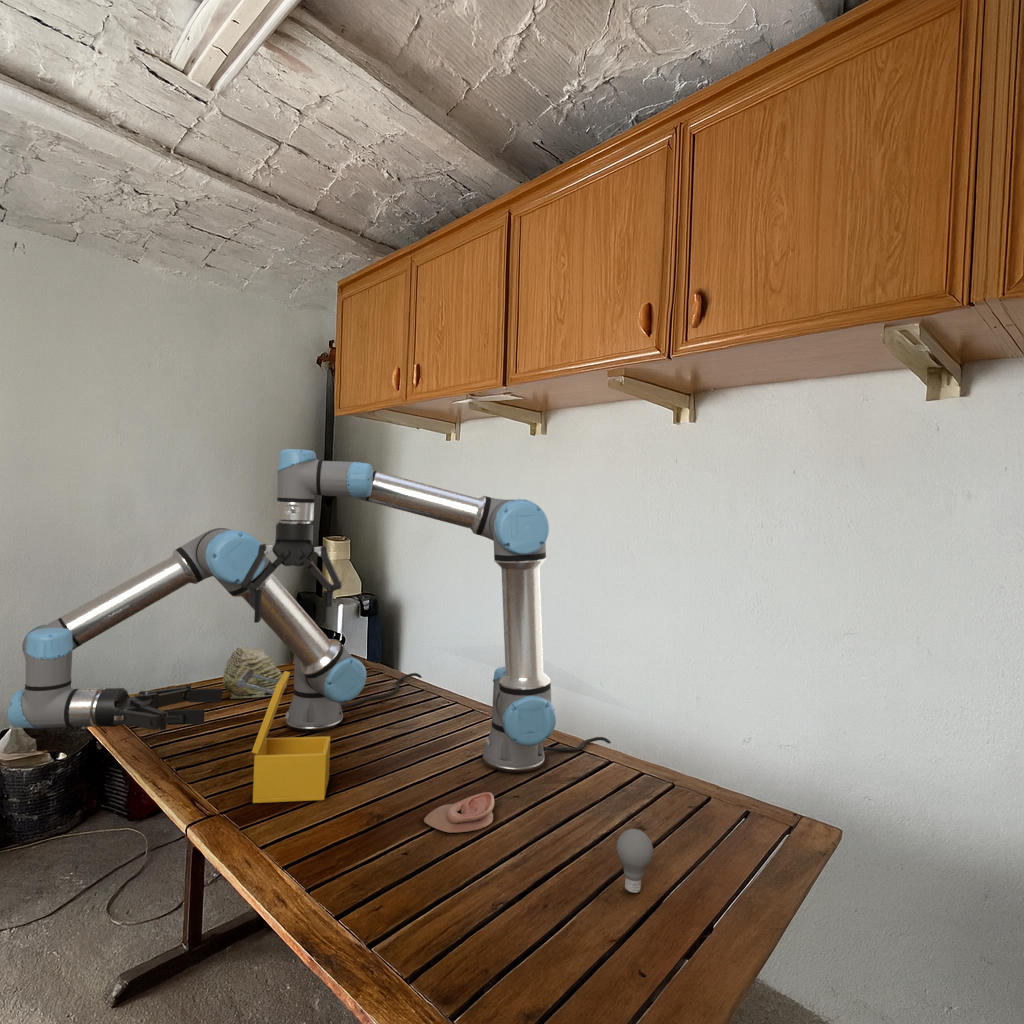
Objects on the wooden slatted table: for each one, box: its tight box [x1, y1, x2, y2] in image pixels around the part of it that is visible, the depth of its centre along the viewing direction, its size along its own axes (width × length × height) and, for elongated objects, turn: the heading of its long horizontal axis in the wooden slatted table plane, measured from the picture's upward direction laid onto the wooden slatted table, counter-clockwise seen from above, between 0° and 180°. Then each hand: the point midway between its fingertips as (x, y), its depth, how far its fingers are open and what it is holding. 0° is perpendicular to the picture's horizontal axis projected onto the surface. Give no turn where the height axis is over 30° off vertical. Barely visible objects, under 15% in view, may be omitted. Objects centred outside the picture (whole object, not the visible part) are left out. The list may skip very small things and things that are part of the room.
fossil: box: [222, 646, 288, 699], centre depth 198 cm, size 9×18×15 cm, turn 132°
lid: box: [237, 669, 291, 755], centre depth 134 cm, size 15×10×9 cm
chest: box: [252, 735, 331, 804], centre depth 136 cm, size 14×10×10 cm
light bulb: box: [615, 828, 654, 894], centre depth 106 cm, size 6×6×10 cm
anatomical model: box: [423, 791, 495, 834], centre depth 127 cm, size 13×4×12 cm
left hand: (213, 705), depth 133 cm, fingers open, 13 cm apart
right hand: (291, 621), depth 135 cm, fingers open, 13 cm apart
